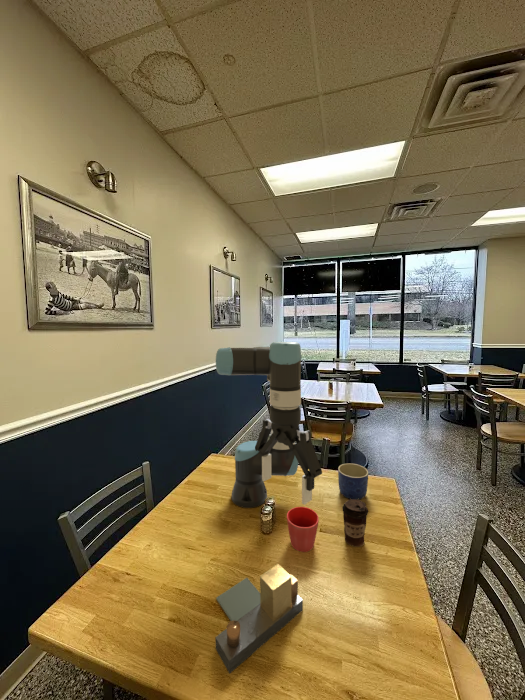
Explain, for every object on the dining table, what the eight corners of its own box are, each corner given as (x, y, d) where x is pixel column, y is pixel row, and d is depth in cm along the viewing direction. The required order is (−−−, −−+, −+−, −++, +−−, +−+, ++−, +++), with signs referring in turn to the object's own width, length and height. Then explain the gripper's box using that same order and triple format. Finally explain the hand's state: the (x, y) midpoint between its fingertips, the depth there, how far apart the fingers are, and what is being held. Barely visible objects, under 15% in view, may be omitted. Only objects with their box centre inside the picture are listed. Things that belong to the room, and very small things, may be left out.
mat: (216, 599, 78) (216, 597, 78) (246, 579, 84) (246, 577, 84) (236, 630, 70) (236, 627, 70) (268, 605, 76) (268, 603, 76)
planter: (370, 491, 128) (371, 467, 127) (363, 506, 117) (364, 480, 116) (342, 483, 134) (343, 460, 133) (334, 497, 124) (334, 472, 123)
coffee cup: (369, 552, 93) (370, 514, 92) (342, 548, 95) (343, 511, 94) (365, 533, 102) (366, 498, 101) (341, 530, 104) (341, 495, 103)
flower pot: (322, 537, 100) (322, 510, 100) (313, 560, 90) (313, 531, 90) (292, 528, 105) (292, 503, 104) (282, 550, 95) (281, 522, 94)
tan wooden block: (273, 621, 69) (272, 590, 68) (260, 605, 73) (260, 576, 72) (291, 606, 73) (291, 576, 72) (278, 592, 77) (278, 563, 76)
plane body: (229, 673, 61) (228, 643, 61) (215, 649, 66) (214, 620, 65) (302, 610, 75) (302, 585, 74) (286, 593, 79) (286, 569, 79)
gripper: (241, 399, 77) (242, 476, 79) (317, 421, 58) (316, 521, 60) (262, 394, 82) (262, 466, 84) (338, 413, 63) (337, 505, 65)
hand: (285, 489), depth 72 cm, fingers open, 13 cm apart
